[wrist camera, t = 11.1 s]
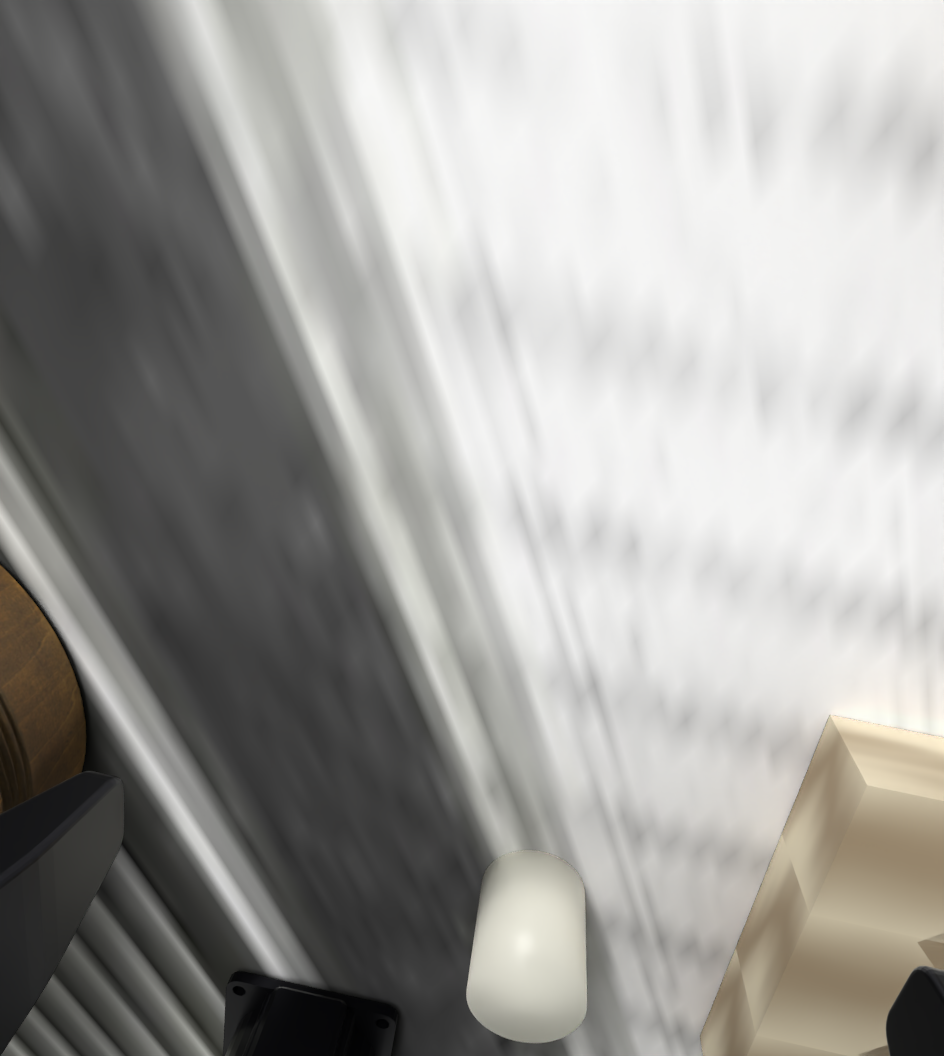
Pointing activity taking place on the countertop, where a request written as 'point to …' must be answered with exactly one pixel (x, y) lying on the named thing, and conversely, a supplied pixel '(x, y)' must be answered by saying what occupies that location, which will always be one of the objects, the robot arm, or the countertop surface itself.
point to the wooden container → (35, 702)
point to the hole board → (841, 902)
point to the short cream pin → (529, 949)
